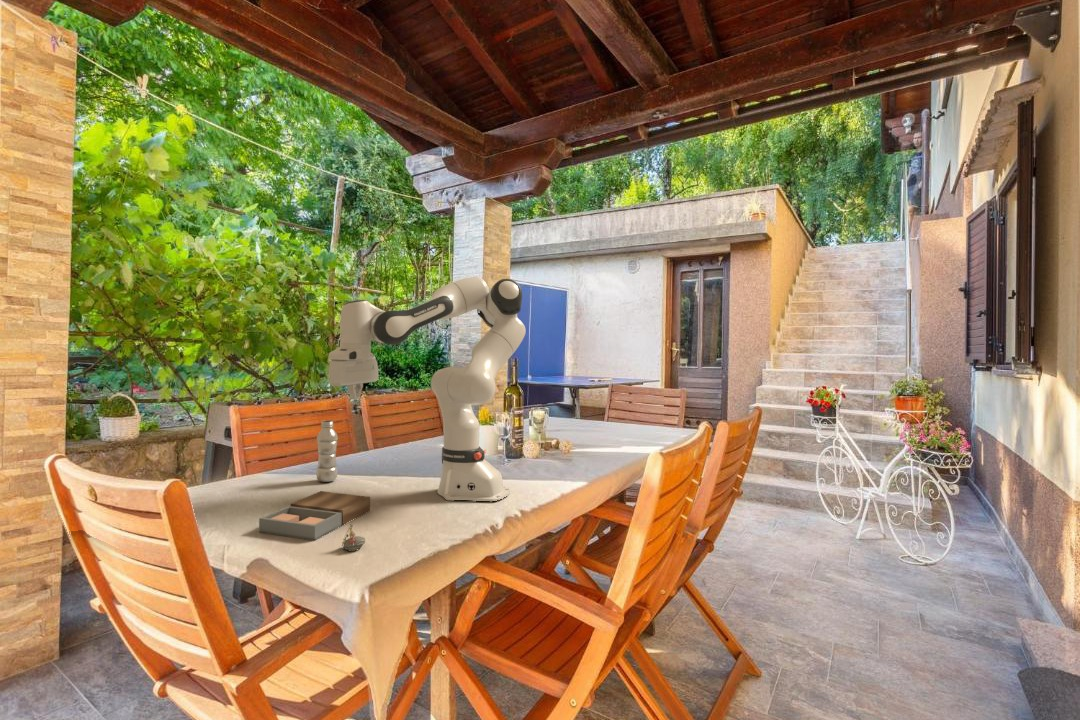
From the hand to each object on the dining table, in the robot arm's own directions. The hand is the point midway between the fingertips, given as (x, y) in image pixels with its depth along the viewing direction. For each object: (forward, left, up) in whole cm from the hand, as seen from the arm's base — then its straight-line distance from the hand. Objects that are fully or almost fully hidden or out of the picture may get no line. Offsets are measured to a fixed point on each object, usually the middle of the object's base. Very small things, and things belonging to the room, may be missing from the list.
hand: (355, 398), depth 162 cm
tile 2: (-10, +32, -26) cm, 42 cm away
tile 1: (-2, +32, -26) cm, 41 cm away
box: (-6, +30, -29) cm, 43 cm away
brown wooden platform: (-6, +19, -29) cm, 35 cm away
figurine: (-25, +37, -29) cm, 53 cm away
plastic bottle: (+16, -8, -29) cm, 34 cm away
